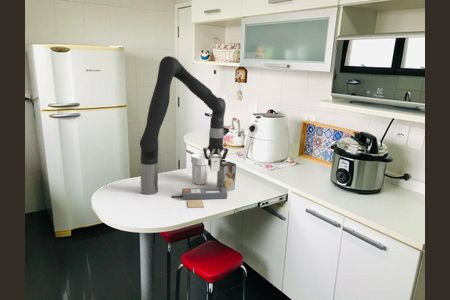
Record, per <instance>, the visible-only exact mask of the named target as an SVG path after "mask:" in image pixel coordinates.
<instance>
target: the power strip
mask: <svg viewBox="0 0 450 300" xmlns="http://www.w3.org/2000/svg"><path fill="white" fill-rule="evenodd" d="M181 190H182V192H181V195H171V198H172V199H173V198H178V199H179V198H182V201H187V200H202V201H203V200H204V201H207V200H227V199H228V191H227V192H226V190H225V188H217V187H197V188H196V187H191V188H190V187H189V188H187V187H186V188H182V189H181Z"/></svg>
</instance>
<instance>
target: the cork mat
mask: <svg viewBox="0 0 450 300" xmlns="http://www.w3.org/2000/svg"><path fill="white" fill-rule="evenodd" d="M186 201H187V202H186V203H187V207H188V209H198V208H199V209H201V208H202V209H203V208H205V204H204V201H203V200H186Z"/></svg>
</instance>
